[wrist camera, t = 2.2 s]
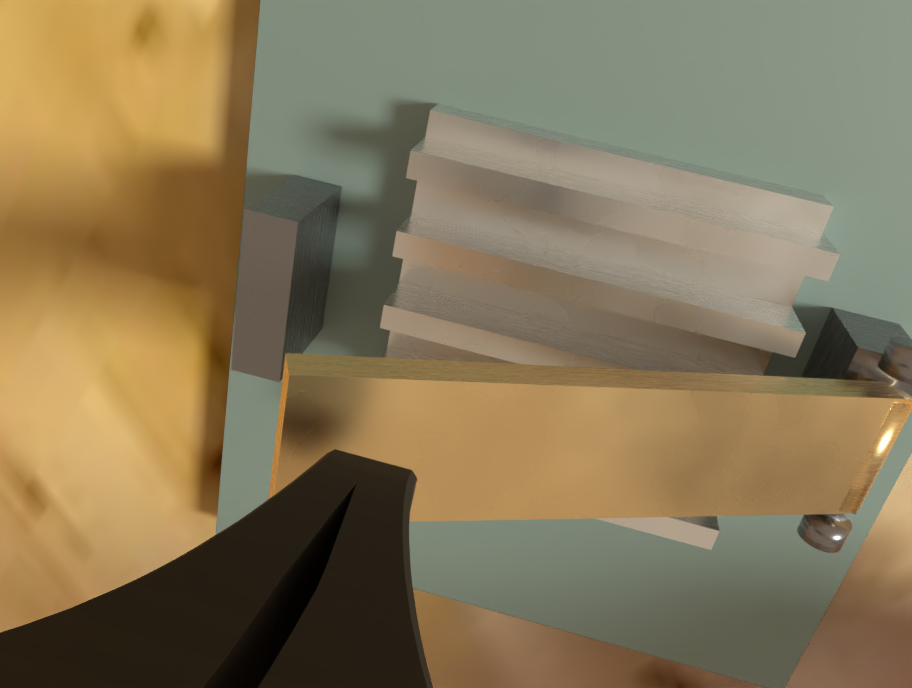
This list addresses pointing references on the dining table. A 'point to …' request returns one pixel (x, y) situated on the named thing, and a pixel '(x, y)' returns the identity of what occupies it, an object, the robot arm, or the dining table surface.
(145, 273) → the dining table surface
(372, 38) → the base board
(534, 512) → the strap
